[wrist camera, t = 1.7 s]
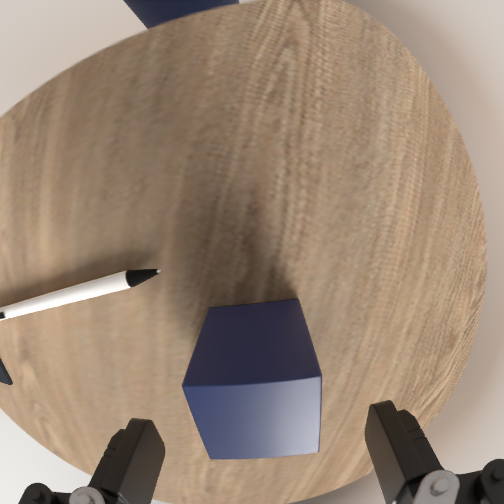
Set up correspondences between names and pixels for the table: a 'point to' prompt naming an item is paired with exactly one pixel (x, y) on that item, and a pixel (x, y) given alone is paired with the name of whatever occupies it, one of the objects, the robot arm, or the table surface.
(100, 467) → the robot arm
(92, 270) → the table surface
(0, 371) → the mat
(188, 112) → the table surface
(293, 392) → the block
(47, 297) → the pen
